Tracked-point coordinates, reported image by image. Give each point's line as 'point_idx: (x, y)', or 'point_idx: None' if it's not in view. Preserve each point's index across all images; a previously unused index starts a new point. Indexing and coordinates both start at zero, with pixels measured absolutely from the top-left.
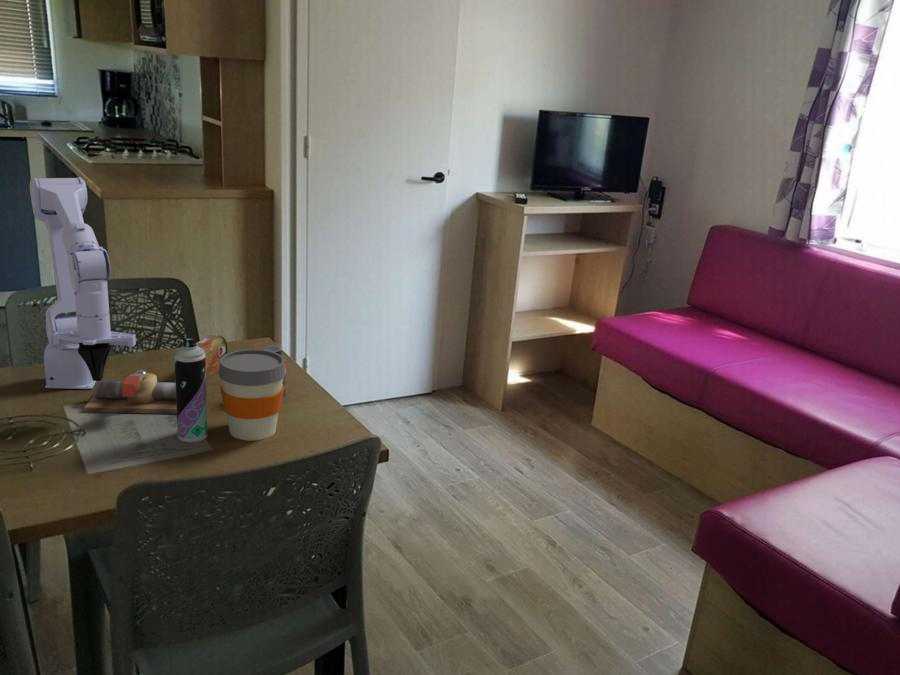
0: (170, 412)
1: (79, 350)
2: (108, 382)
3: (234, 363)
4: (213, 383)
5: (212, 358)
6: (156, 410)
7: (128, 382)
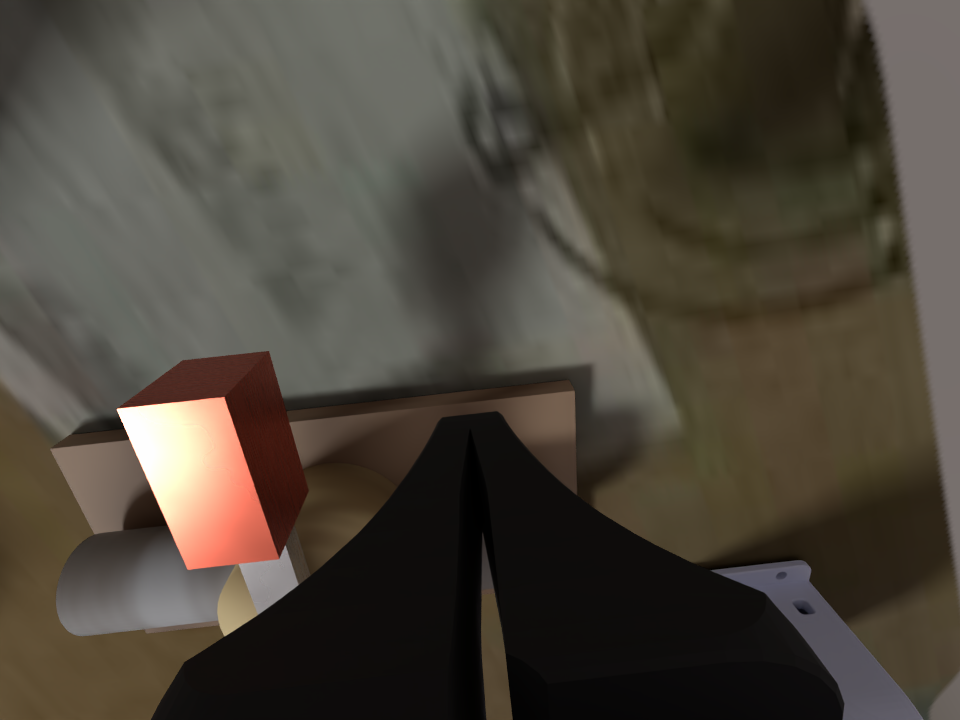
0: None
1: (789, 664)
2: None
3: None
4: (155, 705)
5: None
6: None
7: (192, 441)
